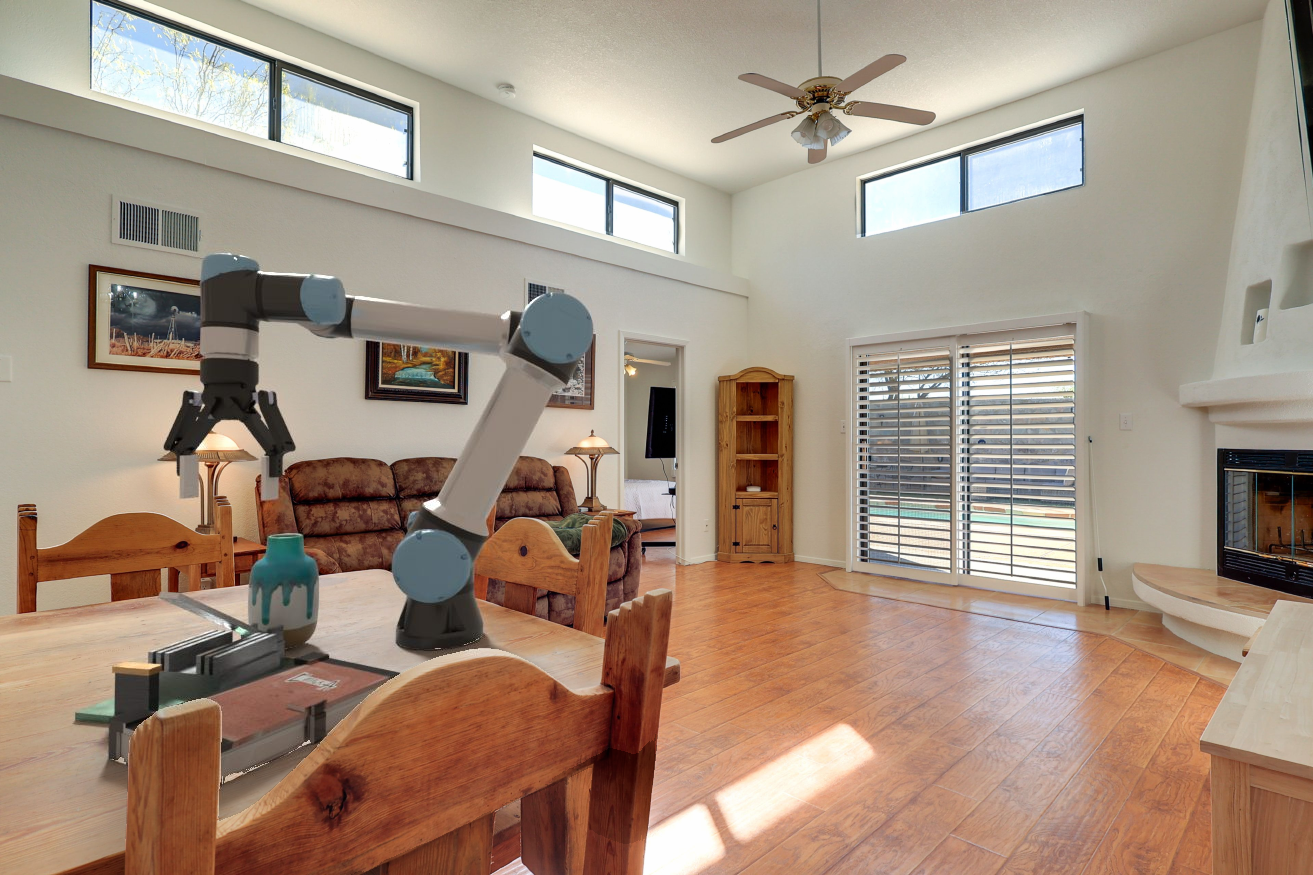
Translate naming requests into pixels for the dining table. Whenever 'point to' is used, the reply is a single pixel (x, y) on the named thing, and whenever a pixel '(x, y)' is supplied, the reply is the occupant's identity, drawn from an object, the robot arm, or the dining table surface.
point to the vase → (285, 590)
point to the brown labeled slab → (274, 710)
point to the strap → (208, 613)
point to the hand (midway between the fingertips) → (229, 499)
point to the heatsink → (190, 671)
